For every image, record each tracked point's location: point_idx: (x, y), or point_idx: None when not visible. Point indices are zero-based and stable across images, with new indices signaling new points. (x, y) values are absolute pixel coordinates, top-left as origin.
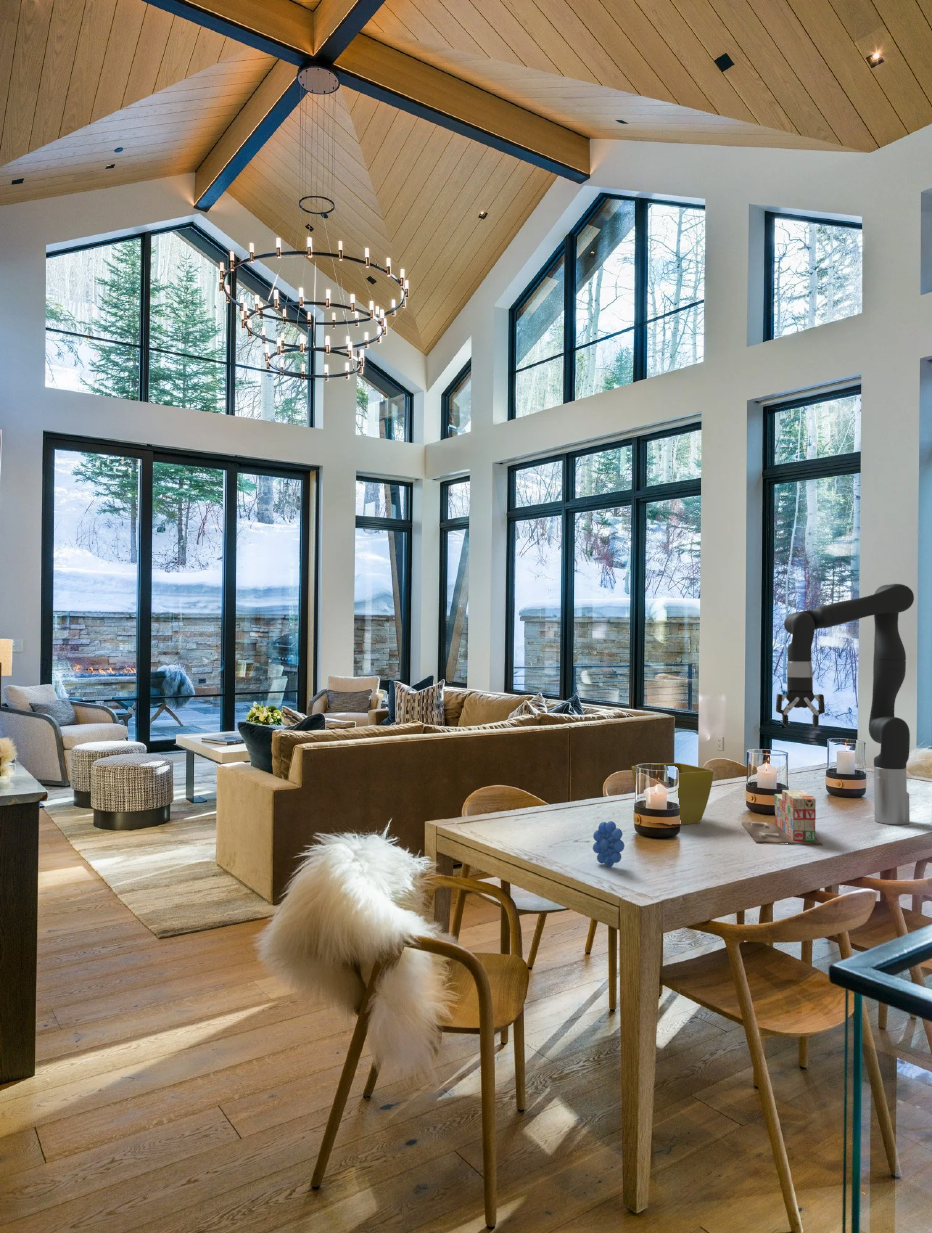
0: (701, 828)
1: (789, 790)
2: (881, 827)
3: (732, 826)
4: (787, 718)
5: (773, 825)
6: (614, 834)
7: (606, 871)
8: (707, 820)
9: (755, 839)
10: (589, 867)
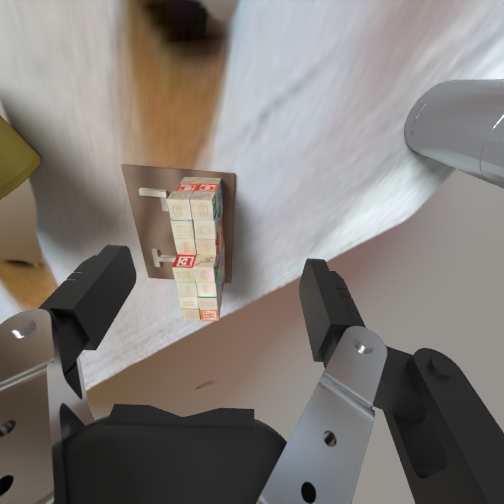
0: (58, 203)
1: (186, 271)
2: (377, 175)
3: (108, 185)
4: (104, 326)
5: None
6: None
7: None
8: (49, 133)
9: (148, 271)
10: None
